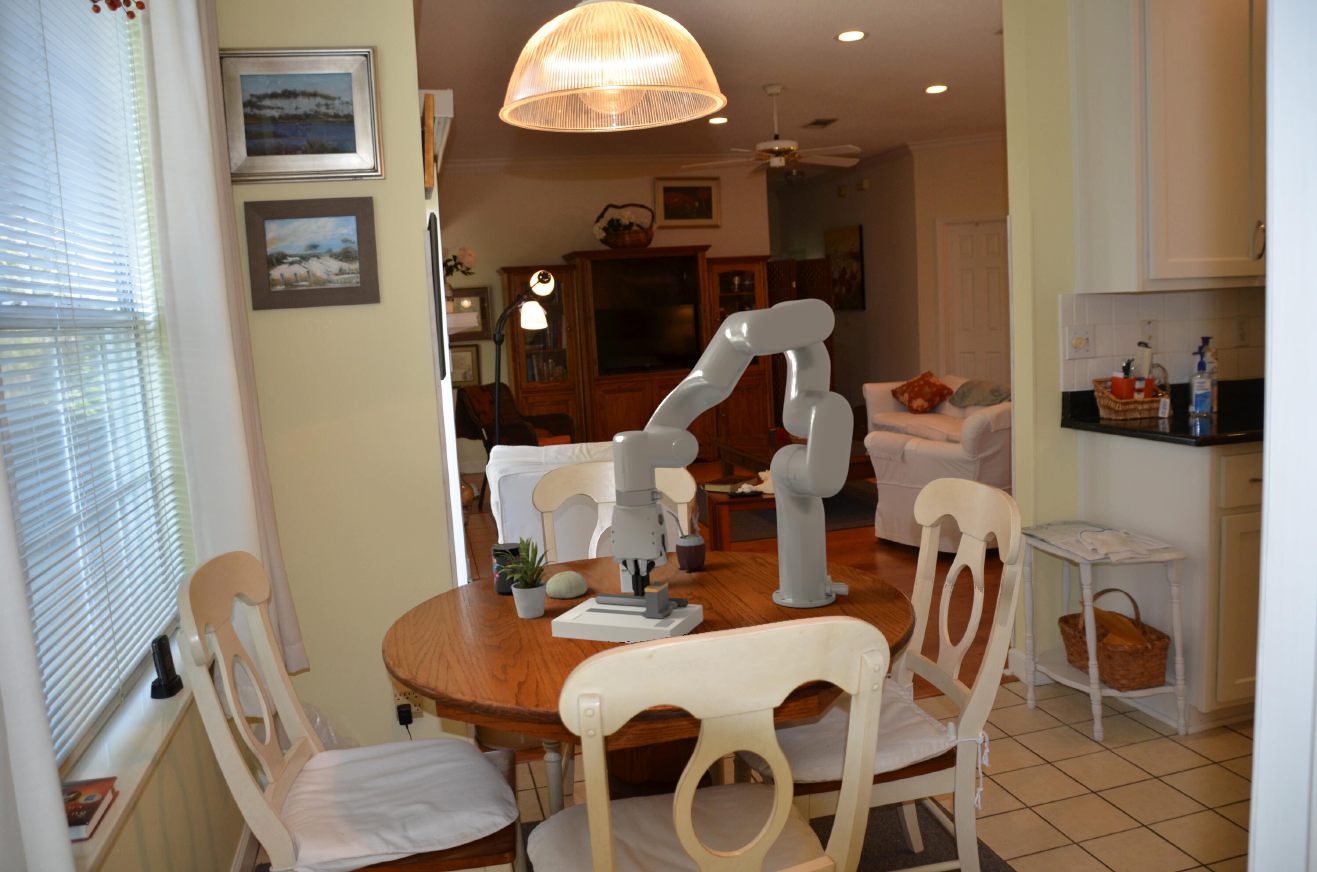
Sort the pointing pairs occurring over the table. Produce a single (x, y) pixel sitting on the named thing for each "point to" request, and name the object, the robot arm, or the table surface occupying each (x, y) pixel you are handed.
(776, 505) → the robot arm
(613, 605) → the base
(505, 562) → the supplement container
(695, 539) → the mate gourd
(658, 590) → the handle
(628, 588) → the syrup box
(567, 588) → the sea urchin shell
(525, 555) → the house plant
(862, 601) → the table surface
